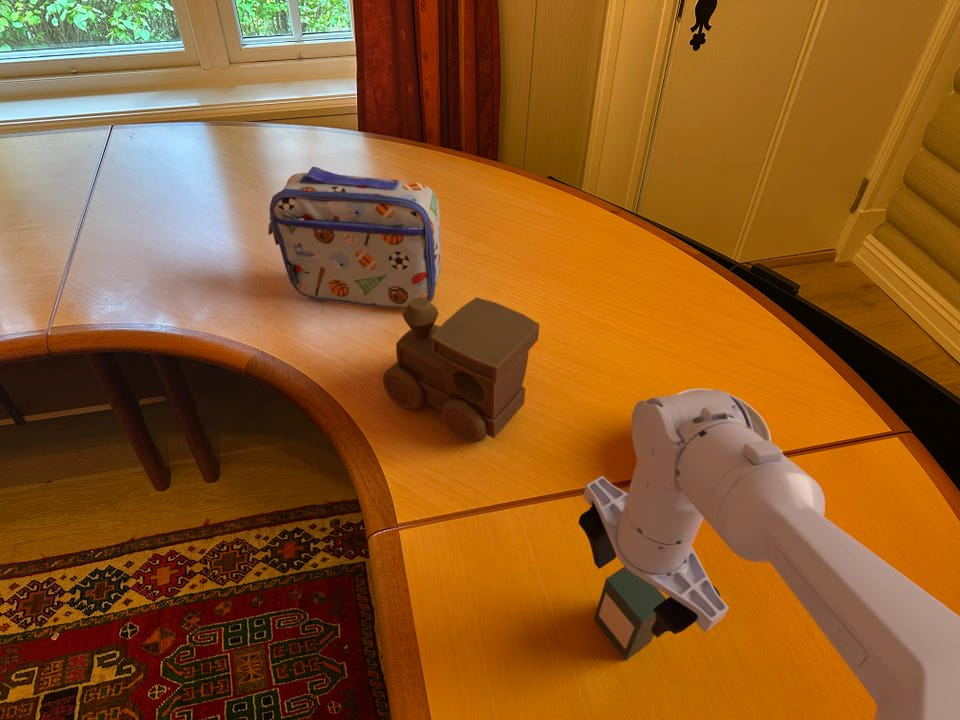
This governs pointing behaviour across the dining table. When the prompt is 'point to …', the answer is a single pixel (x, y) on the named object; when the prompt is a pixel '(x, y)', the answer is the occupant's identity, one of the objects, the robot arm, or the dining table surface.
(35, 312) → the dining table surface
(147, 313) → the dining table surface
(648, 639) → the carton
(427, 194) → the lunch box
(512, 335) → the wooden toy train
